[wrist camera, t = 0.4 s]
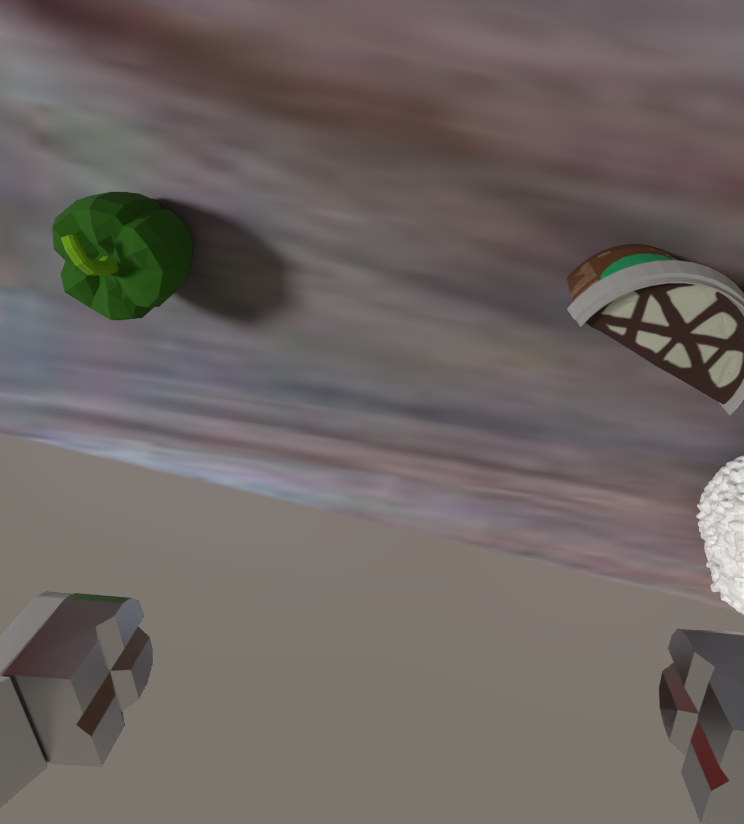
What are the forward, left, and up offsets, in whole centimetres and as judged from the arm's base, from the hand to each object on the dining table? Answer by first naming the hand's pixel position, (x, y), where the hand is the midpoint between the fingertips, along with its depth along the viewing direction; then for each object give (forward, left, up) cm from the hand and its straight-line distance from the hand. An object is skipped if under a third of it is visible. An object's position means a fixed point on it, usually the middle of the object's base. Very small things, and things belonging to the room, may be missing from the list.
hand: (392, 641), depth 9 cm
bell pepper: (+9, -20, -37) cm, 43 cm away
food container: (+2, +16, -37) cm, 40 cm away
